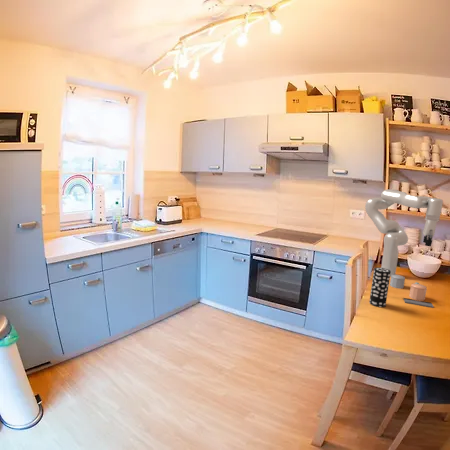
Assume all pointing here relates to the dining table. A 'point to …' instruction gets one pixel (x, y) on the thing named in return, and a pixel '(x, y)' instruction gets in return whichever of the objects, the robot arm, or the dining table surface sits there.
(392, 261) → the robot arm
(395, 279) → the grey cup
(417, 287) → the peach rounded capsule
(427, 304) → the mat
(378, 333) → the dining table surface
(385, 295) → the spotted tube
